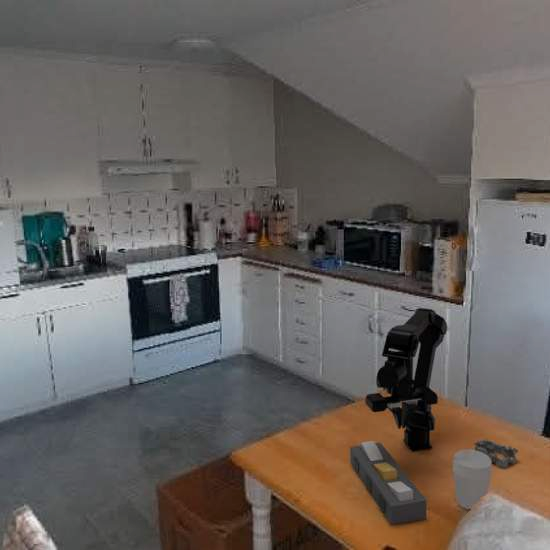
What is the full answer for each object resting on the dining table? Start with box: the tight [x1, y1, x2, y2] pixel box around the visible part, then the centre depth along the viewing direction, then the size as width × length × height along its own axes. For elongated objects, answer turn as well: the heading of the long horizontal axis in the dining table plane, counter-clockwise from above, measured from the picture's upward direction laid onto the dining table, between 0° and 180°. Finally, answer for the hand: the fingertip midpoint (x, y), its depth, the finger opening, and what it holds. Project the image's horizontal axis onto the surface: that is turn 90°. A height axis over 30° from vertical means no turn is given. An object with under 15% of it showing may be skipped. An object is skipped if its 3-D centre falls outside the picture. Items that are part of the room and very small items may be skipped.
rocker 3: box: [387, 481, 413, 502], centre depth 136 cm, size 4×7×2 cm, turn 12°
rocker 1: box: [361, 440, 383, 462], centre depth 154 cm, size 4×7×2 cm, turn 12°
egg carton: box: [473, 438, 519, 469], centre depth 158 cm, size 11×8×4 cm
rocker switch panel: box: [349, 442, 428, 526], centre depth 146 cm, size 9×28×5 cm, turn 12°
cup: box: [452, 449, 493, 511], centre depth 138 cm, size 9×9×12 cm
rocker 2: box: [373, 462, 398, 481], centre depth 145 cm, size 4×7×2 cm, turn 12°
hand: (401, 428), depth 153 cm, fingers closed
